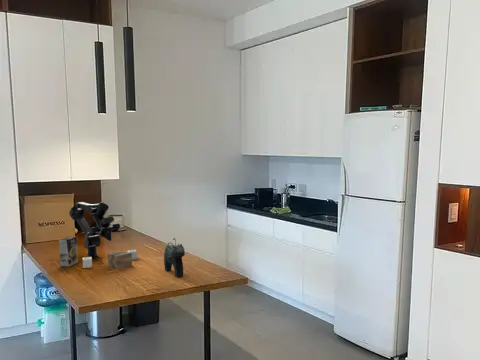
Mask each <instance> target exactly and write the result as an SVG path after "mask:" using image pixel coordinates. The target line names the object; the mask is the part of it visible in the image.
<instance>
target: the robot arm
mask: <svg viewBox="0 0 480 360" xmlns="http://www.w3.org/2000/svg"><path fill="white" fill-rule="evenodd" d="M108 210H109V205H108V204H106V203H105V202H103V201H101V202H99V203H94V204H93V203H92V204H91V203H89V202H88V203H87V202H84V201H79V202H76V203H75V205H74V206H72V207H71V208H70V210H69V213H68V214H69V217H70V218H71V220H73V221H75V222H77V224H78V225H79V227H80V229H81V231H82V232H83V234H84V236H85V241H84V243H83V248H84V249H87V254H86V257H92V258H98V257H99V255H98V247H100V246H101V237H102V238H104V239H106V240H107V241H109V242H112V233H117V232H119V230H120V229H121V224H120V223H118V222H117V223H113V222H115V218H114V216H113V215H112V216H111V215H109V217H105V216H106V214H107V212H108ZM85 211H86V212H87V213H89V214H91V215H92V220H93V221H94V222H95V223H96V225H95V226H93V227H90V225H89V224H88V222H87V220H86V218H85ZM111 223H113V224H112V226H111ZM98 233H99V234H98Z"/></svg>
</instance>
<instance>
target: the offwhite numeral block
mask: <svg viewBox="0 0 480 360" xmlns="http://www.w3.org/2000/svg"><path fill="white" fill-rule="evenodd" d="M92 258H93V257H87V256H86V257H82V268H83V269H85V268H87V269H88V268H92V267H93V259H92Z"/></svg>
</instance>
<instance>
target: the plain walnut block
mask: <svg viewBox="0 0 480 360" xmlns="http://www.w3.org/2000/svg"><path fill="white" fill-rule="evenodd" d="M107 265H108V267H111V268H114V269H117V270H118V269H121V268H127V267H129V266H132V265H133V260H132V253H130V252H127V251H126V250H118V251H114V252H108V253H107Z"/></svg>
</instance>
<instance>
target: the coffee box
mask: <svg viewBox="0 0 480 360" xmlns="http://www.w3.org/2000/svg"><path fill="white" fill-rule="evenodd" d="M58 241H59V242H58V243H59V263H60V264H59V266H60V267H71V266H73V265H75V264H77V263H78V262H79V261H78V240H77V236H67V237H63V238H60V239H59V240H58Z"/></svg>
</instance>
